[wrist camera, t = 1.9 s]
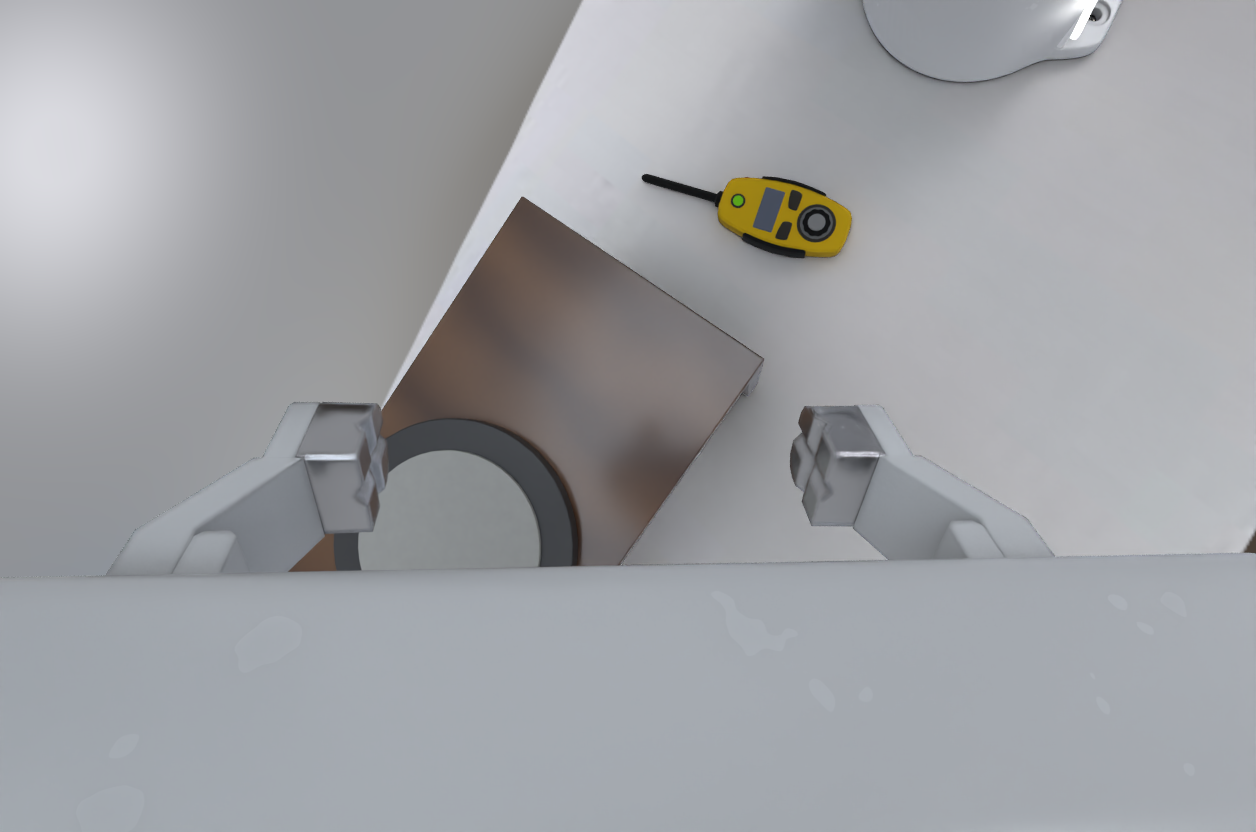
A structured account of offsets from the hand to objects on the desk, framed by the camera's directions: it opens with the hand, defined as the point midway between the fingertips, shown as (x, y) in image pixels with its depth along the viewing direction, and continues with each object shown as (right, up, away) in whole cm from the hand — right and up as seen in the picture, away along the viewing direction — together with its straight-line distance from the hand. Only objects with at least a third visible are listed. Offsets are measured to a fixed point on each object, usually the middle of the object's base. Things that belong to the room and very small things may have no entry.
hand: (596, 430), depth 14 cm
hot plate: (-8, -6, +20) cm, 22 cm away
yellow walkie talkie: (+9, +15, +36) cm, 40 cm away
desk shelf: (-2, -3, +38) cm, 38 cm away
